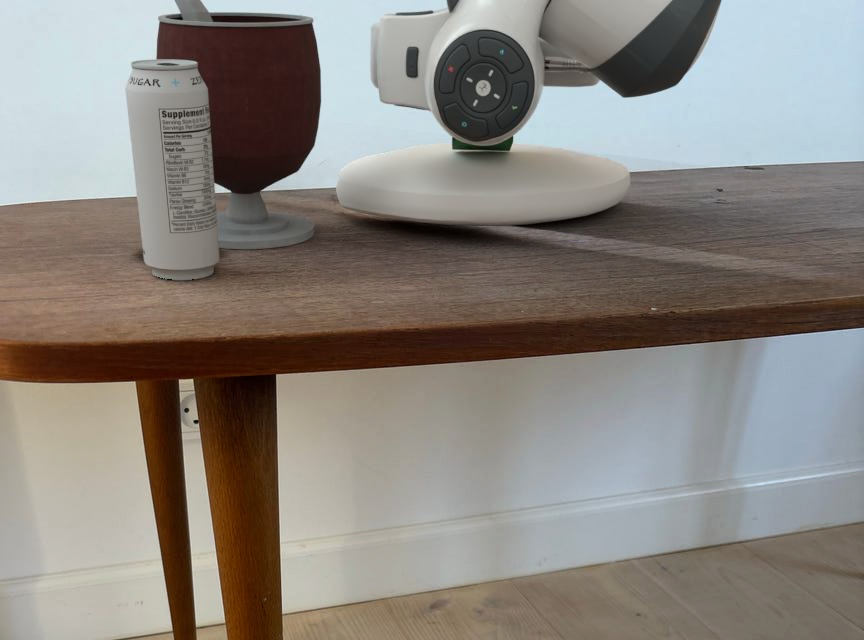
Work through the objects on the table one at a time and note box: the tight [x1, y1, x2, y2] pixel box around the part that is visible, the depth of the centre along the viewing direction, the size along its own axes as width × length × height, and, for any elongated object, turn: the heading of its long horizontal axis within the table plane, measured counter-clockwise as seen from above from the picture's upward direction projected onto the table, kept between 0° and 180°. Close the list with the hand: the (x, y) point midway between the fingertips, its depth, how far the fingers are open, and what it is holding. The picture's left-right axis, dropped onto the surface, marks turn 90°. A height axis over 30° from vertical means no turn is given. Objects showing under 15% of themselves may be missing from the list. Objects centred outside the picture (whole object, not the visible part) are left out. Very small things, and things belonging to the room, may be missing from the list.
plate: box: [335, 142, 631, 227], centre depth 103 cm, size 28×6×27 cm
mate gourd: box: [155, 0, 322, 250], centre depth 92 cm, size 16×14×20 cm
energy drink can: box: [124, 59, 221, 281], centre depth 81 cm, size 6×6×15 cm
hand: (486, 47), depth 96 cm, fingers closed on dish wand, 3 cm apart
